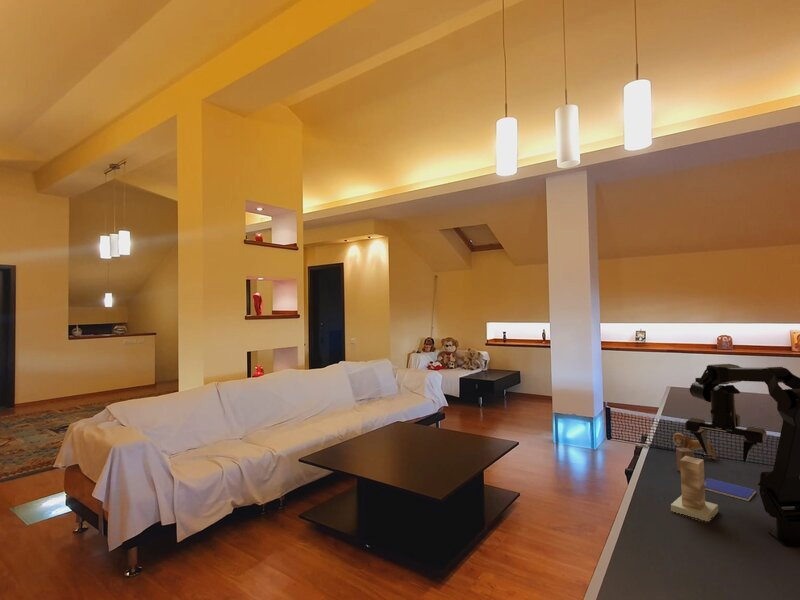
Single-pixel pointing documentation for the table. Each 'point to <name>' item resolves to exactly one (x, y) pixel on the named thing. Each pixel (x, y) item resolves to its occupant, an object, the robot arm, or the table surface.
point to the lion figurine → (691, 444)
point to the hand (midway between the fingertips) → (725, 458)
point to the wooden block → (681, 453)
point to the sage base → (695, 510)
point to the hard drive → (729, 489)
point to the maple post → (692, 482)
